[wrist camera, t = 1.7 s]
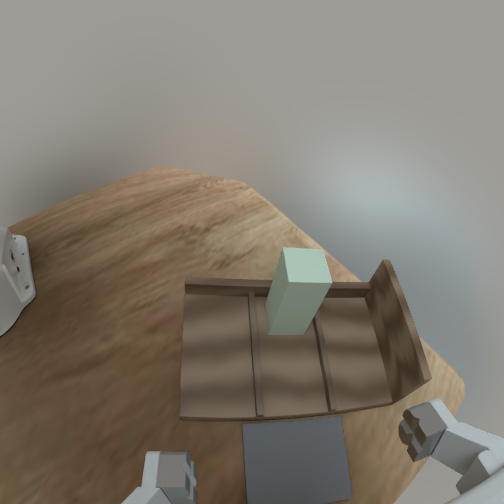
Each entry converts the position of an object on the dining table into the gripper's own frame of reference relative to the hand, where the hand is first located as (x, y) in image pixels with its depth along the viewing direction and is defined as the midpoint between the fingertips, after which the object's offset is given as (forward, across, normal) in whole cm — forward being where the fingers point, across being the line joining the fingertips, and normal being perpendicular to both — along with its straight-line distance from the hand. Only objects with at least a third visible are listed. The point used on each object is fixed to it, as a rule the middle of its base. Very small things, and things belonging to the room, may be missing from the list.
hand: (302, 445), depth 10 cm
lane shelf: (+29, -4, +18) cm, 34 cm away
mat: (+14, -3, +26) cm, 30 cm away
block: (+31, -5, +14) cm, 35 cm away
